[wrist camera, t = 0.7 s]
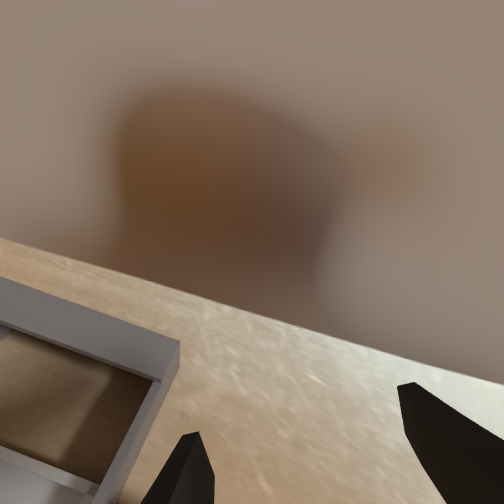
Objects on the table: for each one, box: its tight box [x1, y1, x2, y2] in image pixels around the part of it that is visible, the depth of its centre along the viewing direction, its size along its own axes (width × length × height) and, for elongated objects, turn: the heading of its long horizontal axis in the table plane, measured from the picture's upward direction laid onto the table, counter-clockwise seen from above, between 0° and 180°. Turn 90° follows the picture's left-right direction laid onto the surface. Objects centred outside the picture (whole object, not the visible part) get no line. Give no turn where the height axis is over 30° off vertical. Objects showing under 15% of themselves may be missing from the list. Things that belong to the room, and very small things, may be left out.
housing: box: [0, 277, 180, 504], centre depth 21 cm, size 12×15×5 cm
